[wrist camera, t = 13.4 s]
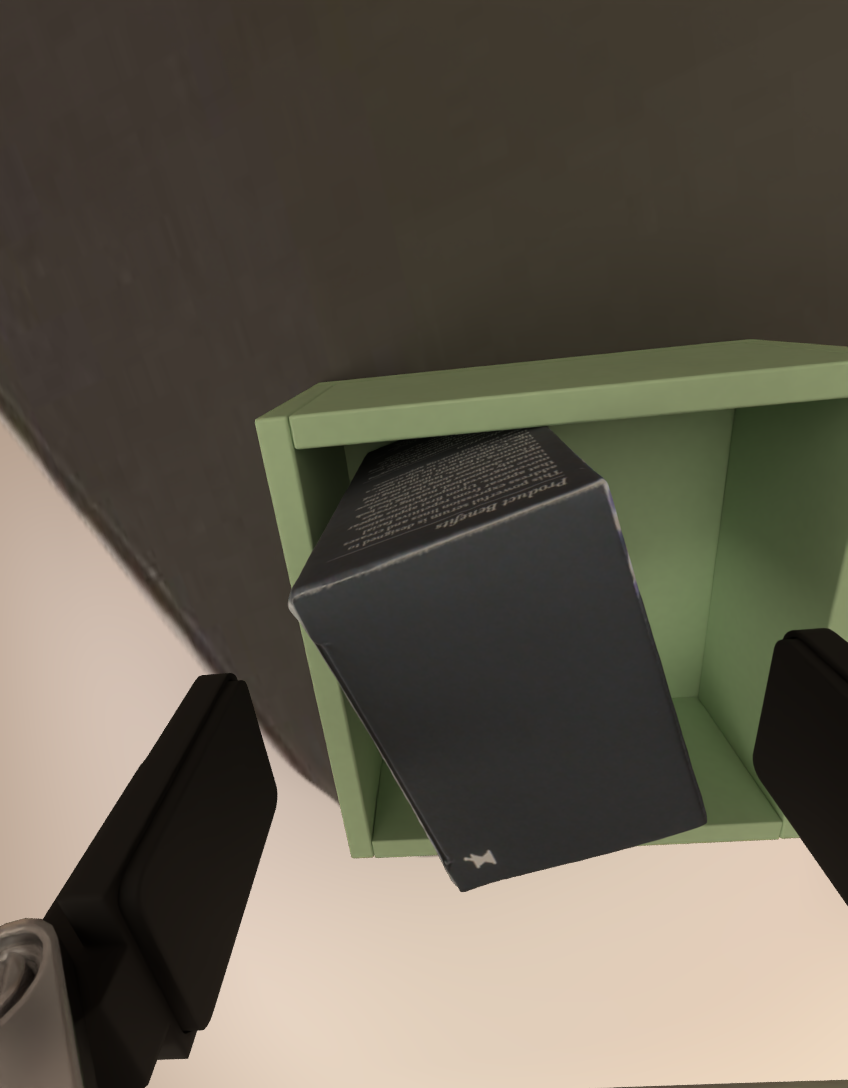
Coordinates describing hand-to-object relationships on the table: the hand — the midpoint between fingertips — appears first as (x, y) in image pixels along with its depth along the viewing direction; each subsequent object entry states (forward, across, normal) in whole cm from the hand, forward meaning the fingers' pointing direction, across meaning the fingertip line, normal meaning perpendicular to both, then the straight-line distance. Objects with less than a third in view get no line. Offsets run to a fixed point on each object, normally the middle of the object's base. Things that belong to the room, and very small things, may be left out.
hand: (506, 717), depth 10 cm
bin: (+11, -2, +2) cm, 12 cm away
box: (+11, 0, 0) cm, 11 cm away
